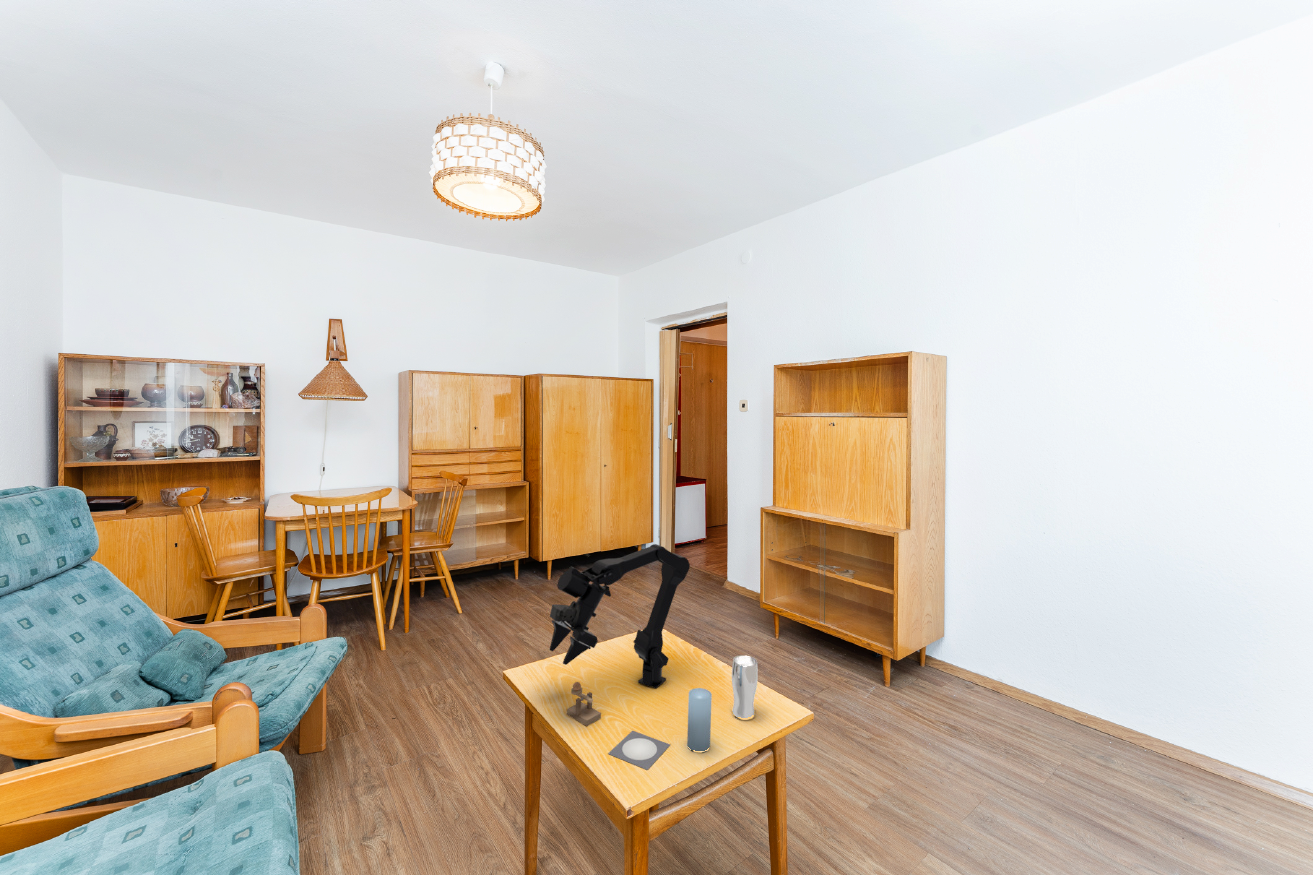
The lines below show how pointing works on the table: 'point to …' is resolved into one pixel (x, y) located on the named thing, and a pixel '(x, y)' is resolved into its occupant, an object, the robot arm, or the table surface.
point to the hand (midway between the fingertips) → (557, 657)
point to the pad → (639, 749)
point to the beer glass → (744, 685)
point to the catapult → (583, 707)
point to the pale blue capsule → (699, 719)
